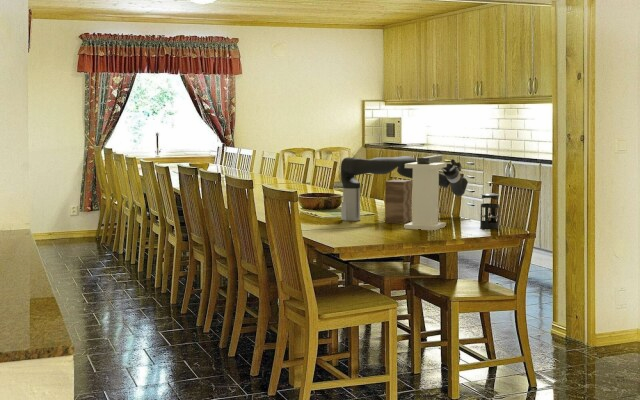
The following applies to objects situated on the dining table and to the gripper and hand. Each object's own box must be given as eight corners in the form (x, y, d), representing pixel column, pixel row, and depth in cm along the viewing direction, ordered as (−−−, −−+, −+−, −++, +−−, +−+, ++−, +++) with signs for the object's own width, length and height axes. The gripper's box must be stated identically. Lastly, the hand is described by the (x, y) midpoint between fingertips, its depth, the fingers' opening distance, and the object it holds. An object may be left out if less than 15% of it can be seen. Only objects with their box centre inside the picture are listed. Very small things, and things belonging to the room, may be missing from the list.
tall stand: (434, 230, 406) (435, 164, 402) (404, 228, 413) (404, 163, 410) (445, 226, 420) (446, 162, 416) (415, 224, 427) (416, 161, 424)
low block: (403, 223, 430) (403, 182, 428) (385, 222, 435) (385, 181, 433) (411, 220, 441) (411, 180, 439) (393, 219, 446) (394, 179, 443)
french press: (495, 230, 406) (495, 183, 404) (476, 229, 411) (477, 182, 408) (502, 227, 416) (503, 181, 414) (484, 226, 421) (485, 180, 418)
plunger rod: (427, 164, 406) (427, 158, 406) (415, 164, 409) (415, 157, 408) (444, 161, 429) (445, 155, 429) (433, 160, 432) (433, 155, 432)
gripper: (463, 180, 448) (455, 166, 435) (438, 179, 455) (429, 166, 441) (465, 167, 451) (458, 154, 438) (440, 166, 457) (432, 153, 444)
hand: (443, 160), depth 440 cm, fingers open, 8 cm apart
